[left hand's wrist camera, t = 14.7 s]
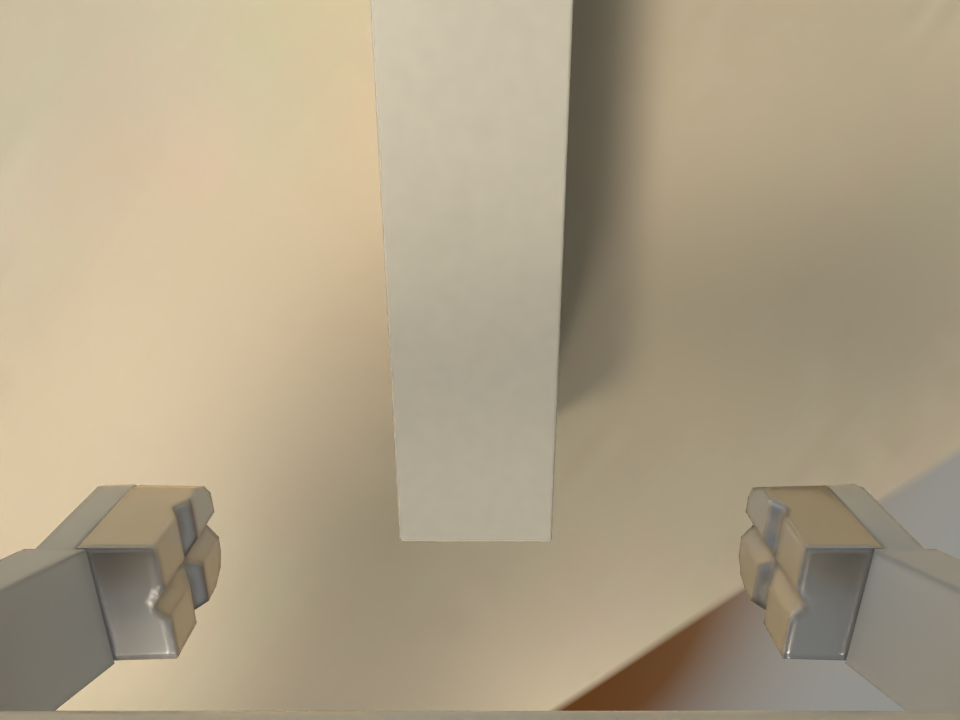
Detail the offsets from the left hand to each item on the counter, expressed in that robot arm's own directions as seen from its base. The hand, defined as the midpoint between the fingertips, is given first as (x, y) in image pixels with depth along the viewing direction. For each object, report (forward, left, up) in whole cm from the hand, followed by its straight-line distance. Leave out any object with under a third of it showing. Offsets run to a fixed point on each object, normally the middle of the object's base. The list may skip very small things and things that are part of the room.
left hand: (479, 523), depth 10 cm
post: (+32, -14, -15) cm, 38 cm away
